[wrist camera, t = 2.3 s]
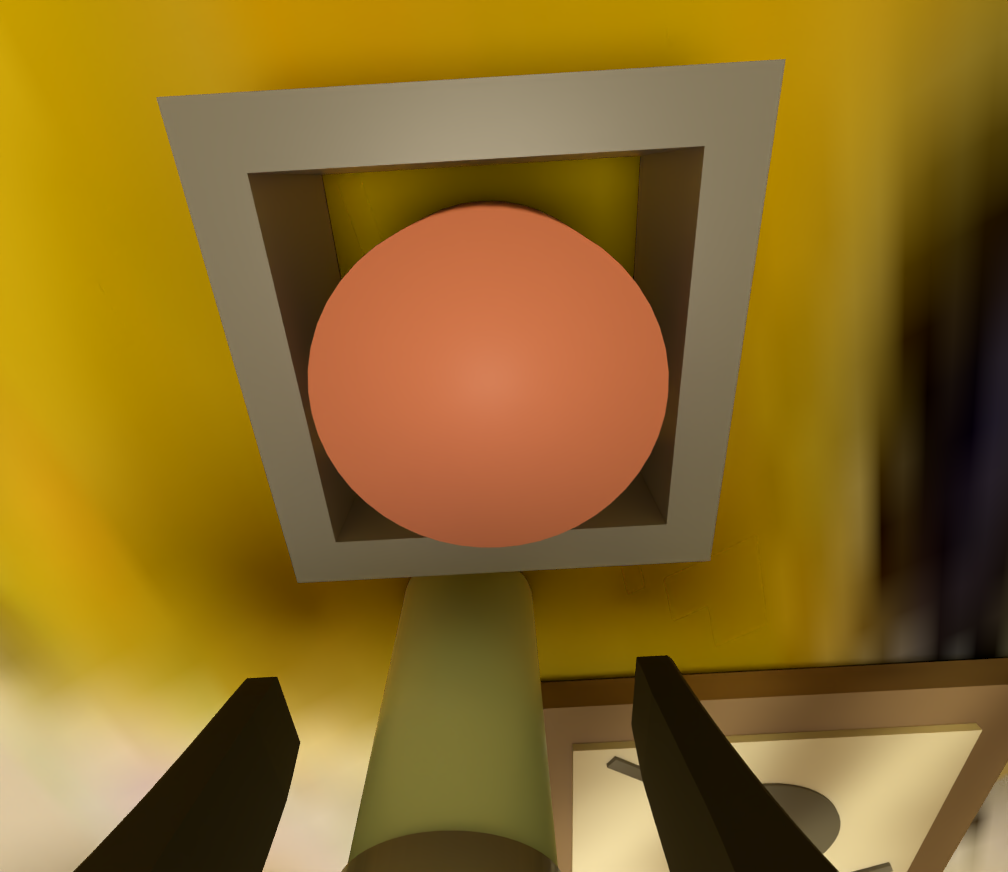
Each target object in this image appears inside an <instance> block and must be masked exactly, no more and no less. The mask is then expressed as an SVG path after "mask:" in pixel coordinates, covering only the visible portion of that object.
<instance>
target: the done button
mask: <svg viewBox="0 0 1008 872" xmlns="http://www.w3.org/2000/svg"><path fill="white" fill-rule="evenodd" d="M668 379H669V371H668V362H667V354H666V348H665V344H664V341H663V337H662V333H661V329H660V326H659V324H658V322H657V319H656V317H655V315H654V312H653V310H652V308H651V306H650V304H649V302H648V301H647V299H646V297H645V296H644V294H643V293H642V291H641V289H640V288H639V286H638V284H637V283H636V282H635V281H634V280H633V279H632V277H631V276H630V275H629V274H628V273H627V271H626V270H625V269H624V268H623V267H622V265H620V264H619V263H618V262H617V261H616V260H615V259H614V258H613V257H611V256H610V255H609V254H608V253H607V252H606V251H605V250H604V249H602V248H601V247H599V246H598V245H596V244H595V243H593V242H592V241H590V240H589V239H587V238H586V237H584V236H583V235H581V234H580V233H578V232H576V231H575V230H573V229H572V228H570V227H569V226H567V225H565V224H564V223H562V222H561V221H559V220H558V219H556V218H554V217H552V216H550V215H548V214H546V213H543V212H541V211H539V210H536V209H533V208H530V207H527V206H523V205H520V204H514V203H508V202H502V201H478V202H470V203H462V204H458V205H455V206H451V207H448V208H444V209H442V210H439V211H437V212H435V213H432V214H430V215H428V216H426V217H424V218H422V219H420V220H419V221H417V222H415V223H413V224H411V225H410V226H408V227H406V228H404V229H403V230H401V231H399V232H397V233H396V234H394V235H393V236H391V237H389V238H388V239H386V240H385V241H383V242H381V243H380V244H378V245H377V246H375V247H374V248H373V249H372V250H371V251H369V252H368V253H367V254H366V255H365V256H364V257H362V258H361V259H360V260H359V261H358V262H357V263H356V264H355V265H354V266H353V267H352V268H351V269H350V271H349V272H348V273H347V274H346V275H345V276H344V278H343V279H342V280H341V281H340V282H339V284H338V285H337V287H336V289H335V290H334V292H333V293H332V295H331V296H330V298H329V300H328V301H327V303H326V305H325V307H324V310H323V312H322V314H321V316H320V319H319V321H318V323H317V326H316V330H315V333H314V337H313V340H312V344H311V348H310V356H309V364H308V394H309V400H310V406H311V412H312V416H313V420H314V423H315V426H316V429H317V433H318V436H319V438H320V440H321V442H322V444H323V446H324V449H325V451H326V453H327V455H328V457H329V458H330V460H331V461H332V463H333V465H334V466H335V468H336V469H337V471H338V472H339V474H340V475H341V476H342V477H343V479H344V480H345V481H346V482H347V484H348V485H349V486H350V487H351V488H352V489H353V490H354V491H355V492H356V493H357V494H358V495H359V496H360V497H361V498H362V499H363V500H364V501H365V502H366V503H367V504H369V505H370V506H371V507H372V508H374V509H375V510H376V511H378V512H379V513H380V514H382V515H383V516H385V517H386V518H388V519H390V520H391V521H393V522H395V523H396V524H398V525H400V526H402V527H404V528H406V529H408V530H410V531H413V532H415V533H417V534H419V535H422V536H425V537H428V538H431V539H434V540H437V541H441V542H446V543H450V544H455V545H461V546H470V547H508V546H518V545H523V544H528V543H533V542H537V541H541V540H544V539H547V538H550V537H553V536H556V535H559V534H561V533H564V532H566V531H568V530H570V529H572V528H574V527H577V526H578V525H580V524H582V523H583V522H585V521H587V520H588V519H590V518H592V517H593V516H595V515H596V514H598V513H599V512H600V511H602V510H603V509H604V508H606V507H607V506H608V505H609V504H611V503H612V502H613V501H614V500H615V499H616V498H617V497H618V496H619V495H620V494H621V493H622V492H623V491H624V490H625V489H626V488H627V487H628V486H629V484H630V483H631V482H632V481H633V479H634V478H635V477H636V476H637V474H638V473H639V472H640V470H641V469H642V467H643V465H644V464H645V462H646V460H647V459H648V457H649V456H650V454H651V451H652V449H653V447H654V445H655V443H656V440H657V438H658V436H659V433H660V429H661V426H662V423H663V420H664V416H665V411H666V405H667V398H668Z"/></svg>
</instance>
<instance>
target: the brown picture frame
mask: <svg viewBox="0 0 1008 872" xmlns="http://www.w3.org/2000/svg"><path fill="white" fill-rule="evenodd" d="M683 677H684V679H685V680H686V682H687V683H688V685H689V686H690V688H691V689H692V691H693V692H694V693H695V695H696V696H697V698H698V699H699V701H700V702H701V704H702V705H703V706H704V708H705V709H706V711H707V712H708V713H709V715H710V716H711V718H712V719H713V720H714V722H715V723H716V725H717V726H718V727H719V729H720V730H721V731H722V733H723V734H724V735H725V737H726V738H727V739H728V741H729V742H730V743H731V744H732V746H733V747H734V748H735V750H736V751H737V752H738V754H739V755H740V756H741V757H742V759H743V760H744V761H745V763H746V764H747V765H748V766H749V768H750V769H751V770H752V772H753V773H754V774H755V775H756V777H757V778H758V779H759V780H760V782H761V783H762V784H763V785H764V787H765V788H766V789H767V790H768V791H769V793H770V794H771V795H772V796H773V797H774V799H775V800H776V801H777V802H778V803H779V805H780V806H781V807H782V808H783V809H784V810H785V812H786V813H787V814H788V815H789V816H790V818H791V819H792V820H793V821H794V822H795V823H796V825H797V826H798V827H799V828H800V829H801V830H802V831H803V833H804V834H805V835H806V836H807V837H808V838H809V839H810V840H811V842H812V843H813V844H814V845H815V846H816V847H817V848H818V849H819V851H820V852H821V853H822V854H823V855H824V856H825V857H826V858H827V859H828V860H829V861H830V862H831V863H832V865H833V866H834V867H835V868H836V869H837V870H838V871H839V872H943V870H944V869H945V867H946V865H947V863H948V862H949V860H950V858H951V857H952V855H953V853H954V852H955V850H956V848H957V846H958V845H959V843H960V841H961V840H962V838H963V836H964V835H965V833H966V831H967V829H968V828H969V826H970V824H971V823H972V821H973V819H974V818H975V816H976V814H977V812H978V811H979V809H980V807H981V806H982V804H983V802H984V801H985V799H986V797H987V795H988V794H989V792H990V790H991V789H992V787H993V785H994V784H995V782H996V780H997V778H998V777H999V775H1000V773H1001V771H1002V770H1003V768H1004V766H1005V764H1006V763H1007V761H1008V658H998V659H979V660H960V661H941V662H922V663H903V664H884V665H865V666H845V667H826V668H807V669H788V670H769V671H750V672H731V673H712V674H693V675H683ZM634 684H635V678H617V679H598V680H579V681H559V682H541V692H542V703H543V714H544V724H545V735H546V745H547V756H548V767H549V777H550V788H551V798H552V809H553V820H554V830H555V841H556V851H557V862H558V868H559V869H560V871H561V872H670V871H669V868H668V864H667V861H666V858H665V854H664V851H663V848H662V845H661V841H660V838H659V835H658V831H657V828H656V825H655V821H654V818H653V815H652V811H651V808H650V805H649V801H648V798H647V795H646V791H645V788H644V784H643V781H642V776H641V771H640V766H639V762H638V757H637V752H636V747H635V741H634V736H633V731H632V726H631V721H632V709H633V696H634Z"/></svg>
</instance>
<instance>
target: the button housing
mask: <svg viewBox="0 0 1008 872" xmlns="http://www.w3.org/2000/svg"><path fill="white" fill-rule="evenodd" d="M784 65H785V59H782V60H766V61H749V62H732V63H716V64H699V65H683V66H666V67H650V68H633V69H616V70H600V71H583V72H567V73H550V74H534V75H517V76H501V77H484V78H467V79H451V80H434V81H418V82H401V83H385V84H368V85H352V86H335V87H318V88H302V89H285V90H269V91H252V92H236V93H219V94H202V95H186V96H169V97H157V101H158V104H159V108H160V111H161V115H162V118H163V121H164V125H165V128H166V132H167V135H168V139H169V142H170V145H171V149H172V152H173V156H174V159H175V163H176V166H177V170H178V173H179V176H180V180H181V183H182V187H183V190H184V194H185V197H186V200H187V204H188V207H189V211H190V214H191V218H192V221H193V225H194V228H195V231H196V235H197V238H198V242H199V245H200V249H201V252H202V255H203V259H204V262H205V266H206V269H207V273H208V276H209V280H210V283H211V286H212V290H213V293H214V297H215V300H216V304H217V307H218V310H219V314H220V317H221V321H222V324H223V328H224V331H225V335H226V338H227V341H228V345H229V348H230V352H231V355H232V359H233V362H234V365H235V369H236V372H237V376H238V379H239V383H240V386H241V390H242V393H243V396H244V400H245V403H246V407H247V410H248V414H249V417H250V421H251V424H252V427H253V431H254V434H255V438H256V441H257V445H258V448H259V451H260V455H261V458H262V462H263V465H264V469H265V472H266V476H267V479H268V482H269V486H270V489H271V493H272V496H273V500H274V503H275V506H276V510H277V513H278V517H279V520H280V524H281V527H282V531H283V534H284V537H285V541H286V544H287V548H288V551H289V555H290V558H291V561H292V565H293V568H294V572H295V575H296V579H297V582H298V583H307V582H326V581H345V580H363V579H382V578H400V577H419V576H437V575H456V574H474V573H493V572H512V571H530V570H549V569H567V568H586V567H604V566H623V565H641V564H660V563H678V562H697V561H710V558H711V551H712V545H713V538H714V531H715V525H716V518H717V511H718V505H719V498H720V491H721V485H722V478H723V472H724V465H725V458H726V452H727V445H728V438H729V432H730V425H731V418H732V412H733V405H734V398H735V392H736V385H737V378H738V372H739V365H740V358H741V352H742V345H743V338H744V332H745V325H746V318H747V312H748V305H749V298H750V292H751V285H752V278H753V272H754V265H755V259H756V252H757V245H758V239H759V232H760V225H761V219H762V212H763V205H764V199H765V192H766V185H767V179H768V172H769V165H770V159H771V152H772V145H773V139H774V132H775V125H776V119H777V112H778V105H779V99H780V92H781V85H782V79H783V72H784ZM629 156H641V157H640V175H639V194H638V212H637V231H636V249H635V268H634V281H635V282H636V283H637V284H638V286H639V288H640V289H641V291H642V293H643V294H644V296H645V297H646V299H647V301H648V302H649V304H650V306H651V308H652V310H653V312H654V315H655V317H656V319H657V322H658V324H659V326H660V329H661V333H662V337H663V341H664V344H665V348H666V354H667V362H668V371H669V379H668V398H667V405H666V411H665V416H664V420H663V423H662V426H661V429H660V433H659V436H658V438H657V440H656V443H655V445H654V447H653V449H652V451H651V454H650V456H649V457H648V459H647V460H646V462H645V464H644V465H643V467H642V469H641V470H640V472H639V473H638V474H637V476H636V477H635V478H634V479H633V481H632V482H631V483H630V484H629V486H628V487H627V488H626V489H625V490H624V491H623V492H622V493H621V494H620V495H619V496H618V497H617V498H616V499H615V500H614V501H613V502H612V503H611V504H609V505H608V506H607V507H606V508H604V509H603V510H602V511H600V512H599V513H598V514H596V515H595V516H593V517H592V518H590V519H588V520H587V521H585V522H583V523H582V524H580V525H578V526H577V527H574V528H572V529H570V530H568V531H566V532H564V533H561V534H559V535H556V536H553V537H550V538H547V539H544V540H541V541H537V542H533V543H528V544H523V545H518V546H508V547H470V546H461V545H455V544H450V543H446V542H441V541H437V540H434V539H431V538H428V537H425V536H422V535H419V534H417V533H415V532H413V531H410V530H408V529H406V528H404V527H402V526H400V525H398V524H396V523H395V522H393V521H391V520H390V519H388V518H386V517H385V516H383V515H382V514H380V513H379V512H378V511H376V510H375V509H374V508H372V507H371V506H370V505H369V504H367V503H366V502H365V501H364V500H363V499H362V498H361V497H360V496H359V495H358V494H357V493H356V492H355V491H354V490H353V489H352V488H351V487H350V486H349V485H348V484H347V482H346V481H345V480H344V479H343V477H342V476H341V475H340V474H339V472H338V471H337V469H336V468H335V466H334V465H333V463H332V461H331V460H330V458H329V457H328V455H327V453H326V451H325V449H324V446H323V444H322V442H321V440H320V438H319V436H318V433H317V429H316V426H315V423H314V420H313V416H312V412H311V406H310V400H309V394H308V364H309V356H310V348H311V344H312V340H313V337H314V333H315V330H316V326H317V323H318V321H319V319H320V316H321V314H322V312H323V310H324V307H325V305H326V303H327V301H328V300H329V298H330V296H331V295H332V293H333V292H334V290H335V289H336V287H337V285H338V284H339V282H340V281H341V278H340V273H339V267H338V262H337V256H336V251H335V245H334V240H333V235H332V229H331V224H330V218H329V213H328V207H327V202H326V197H325V191H324V186H323V180H322V175H325V174H342V173H359V172H376V171H393V170H410V169H427V168H444V167H461V166H477V165H494V164H511V163H528V162H545V161H562V160H579V159H596V158H612V157H629Z"/></svg>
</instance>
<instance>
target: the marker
mask: <svg viewBox="0 0 1008 872" xmlns="http://www.w3.org/2000/svg"><path fill="white" fill-rule="evenodd" d="M342 872H561V871H560V869H559V868H558V862H557V851H556V841H555V830H554V820H553V809H552V798H551V788H550V777H549V767H548V756H547V745H546V735H545V724H544V714H543V703H542V692H541V682H540V671H539V660H538V650H537V639H536V629H535V618H534V607H533V597H532V591H531V588H530V585H529V583H528V581H527V580H526V578H525V577H524V575H523V574H522V573H521V572H520V571H512V572H493V573H474V574H456V575H437V576H419V577H412V578H411V579H410V581H409V583H408V585H407V588H406V592H405V596H404V601H403V606H402V610H401V615H400V620H399V624H398V629H397V634H396V639H395V643H394V648H393V653H392V657H391V662H390V667H389V672H388V676H387V681H386V686H385V690H384V695H383V700H382V705H381V709H380V714H379V719H378V723H377V728H376V733H375V738H374V742H373V747H372V752H371V756H370V761H369V766H368V771H367V775H366V780H365V785H364V790H363V794H362V799H361V804H360V808H359V813H358V818H357V823H356V827H355V832H354V837H353V841H352V846H351V851H350V856H349V860H348V864H347V865H346V866H345V868H344V869H343V870H342Z"/></svg>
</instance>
